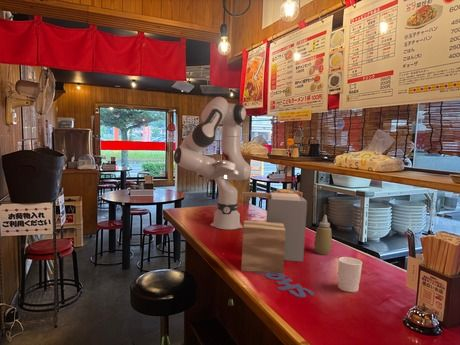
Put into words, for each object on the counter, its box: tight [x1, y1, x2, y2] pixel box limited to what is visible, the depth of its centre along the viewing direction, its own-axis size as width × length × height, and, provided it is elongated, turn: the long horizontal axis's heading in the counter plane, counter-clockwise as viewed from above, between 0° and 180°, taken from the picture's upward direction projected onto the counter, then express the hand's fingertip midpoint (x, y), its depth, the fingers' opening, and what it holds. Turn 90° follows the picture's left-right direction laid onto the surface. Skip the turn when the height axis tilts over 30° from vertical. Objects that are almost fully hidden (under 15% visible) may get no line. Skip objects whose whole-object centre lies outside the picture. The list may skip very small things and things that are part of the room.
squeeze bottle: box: [313, 214, 333, 256], centre depth 157 cm, size 8×8×18 cm
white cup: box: [337, 256, 363, 293], centre depth 118 cm, size 8×8×10 cm
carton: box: [265, 196, 308, 262], centre depth 150 cm, size 12×16×26 cm
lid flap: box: [240, 191, 301, 201], centre depth 149 cm, size 10×25×2 cm, turn 86°
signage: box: [252, 271, 316, 299], centre depth 123 cm, size 28×1×10 cm
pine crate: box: [240, 220, 286, 274], centre depth 135 cm, size 12×16×17 cm
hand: (231, 175), depth 162 cm, fingers open, 8 cm apart
